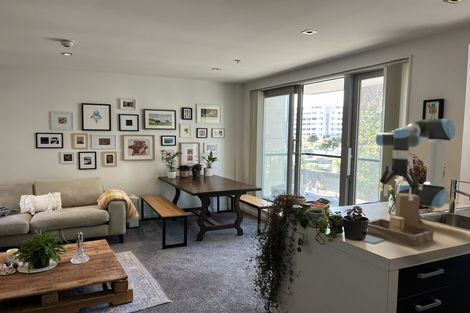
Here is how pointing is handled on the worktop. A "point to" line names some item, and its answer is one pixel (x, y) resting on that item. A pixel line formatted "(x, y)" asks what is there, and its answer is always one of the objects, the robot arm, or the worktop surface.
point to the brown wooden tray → (400, 233)
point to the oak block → (396, 223)
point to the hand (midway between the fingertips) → (397, 198)
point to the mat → (373, 239)
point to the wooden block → (407, 208)
